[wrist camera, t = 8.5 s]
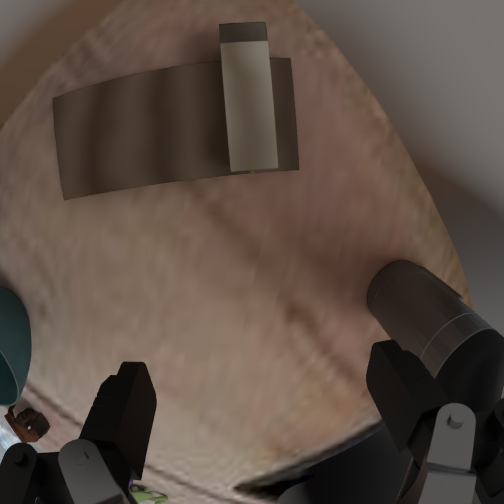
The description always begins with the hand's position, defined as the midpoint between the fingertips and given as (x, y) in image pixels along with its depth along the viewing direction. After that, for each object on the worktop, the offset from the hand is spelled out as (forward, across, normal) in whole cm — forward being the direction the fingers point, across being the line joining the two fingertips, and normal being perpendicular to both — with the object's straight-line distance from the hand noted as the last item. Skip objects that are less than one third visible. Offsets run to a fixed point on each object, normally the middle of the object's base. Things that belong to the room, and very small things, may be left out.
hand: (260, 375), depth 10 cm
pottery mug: (+25, +47, +37) cm, 65 cm away
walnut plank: (+25, +7, -10) cm, 28 cm away
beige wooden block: (+25, -1, -12) cm, 27 cm away
